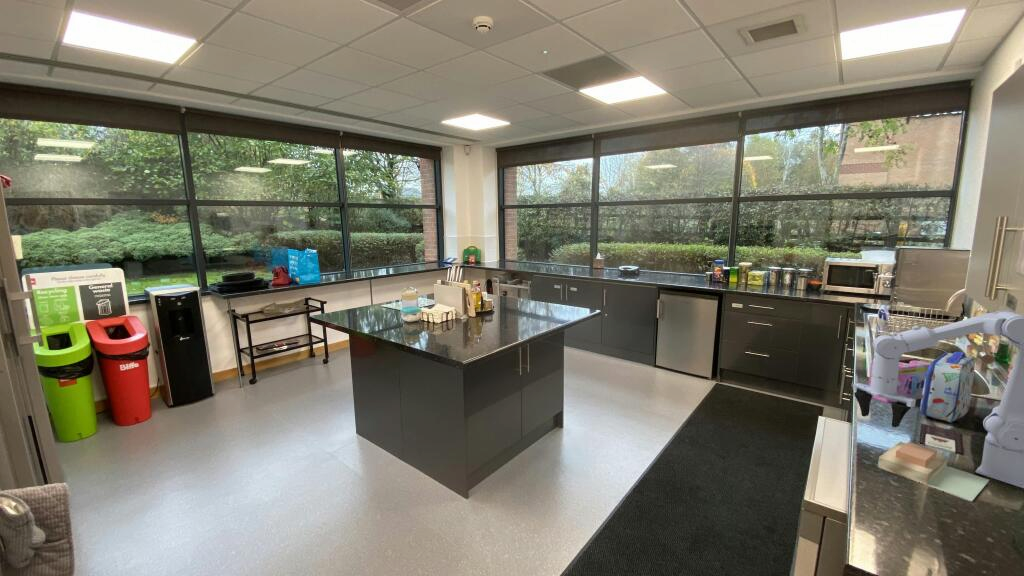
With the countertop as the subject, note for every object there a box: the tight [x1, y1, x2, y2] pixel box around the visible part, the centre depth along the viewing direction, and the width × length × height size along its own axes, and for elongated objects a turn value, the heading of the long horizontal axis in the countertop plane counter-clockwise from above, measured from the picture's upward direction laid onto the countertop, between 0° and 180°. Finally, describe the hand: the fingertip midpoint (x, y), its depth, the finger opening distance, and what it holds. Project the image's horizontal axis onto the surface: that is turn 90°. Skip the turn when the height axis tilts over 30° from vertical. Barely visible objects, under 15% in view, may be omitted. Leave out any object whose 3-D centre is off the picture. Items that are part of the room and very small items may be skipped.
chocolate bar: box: [918, 423, 963, 456], centre depth 131 cm, size 9×1×18 cm
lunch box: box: [919, 351, 976, 423], centre depth 147 cm, size 28×10×22 cm, turn 126°
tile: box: [895, 441, 938, 468], centre depth 115 cm, size 6×9×2 cm, turn 121°
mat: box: [926, 465, 990, 503], centre depth 108 cm, size 8×16×1 cm, turn 121°
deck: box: [877, 441, 949, 486], centre depth 116 cm, size 10×16×3 cm, turn 121°
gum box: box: [867, 358, 930, 404], centre depth 164 cm, size 24×8×14 cm, turn 102°
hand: (879, 420), depth 123 cm, fingers open, 7 cm apart
